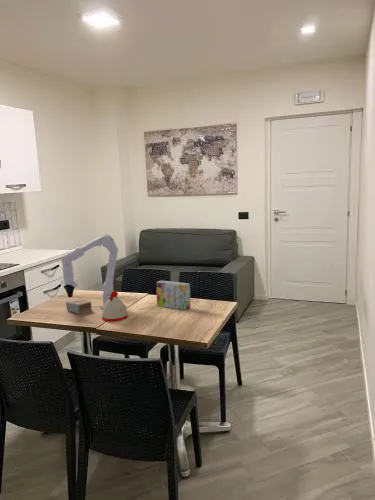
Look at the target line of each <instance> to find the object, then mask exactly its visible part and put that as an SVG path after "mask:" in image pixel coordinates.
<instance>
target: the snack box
mask: <svg viewBox="0 0 375 500" xmlns="http://www.w3.org/2000/svg"><path fill="white" fill-rule="evenodd" d="M155 285H156V306H157V307H162V308H163V307H164V308H170V309H176V310H182V311H187V310H190V309H191V284H190V283H189V282H187V283H186V282H179V281H172V280H171V281H169V280H159V281H156V282H155Z"/></svg>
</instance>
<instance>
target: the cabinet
mask: <svg viewBox="0 0 375 500" xmlns="http://www.w3.org/2000/svg"><path fill="white" fill-rule="evenodd" d="M67 302H71V303H76V304H78V305H79V312H80V313H79V315H81V314H85V313H87V312H91V311H92V302H91V301H89V300H86V299H82V298H77V299H73V300H69V301H67ZM84 312H85V313H84Z"/></svg>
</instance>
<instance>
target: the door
mask: <svg viewBox="0 0 375 500" xmlns="http://www.w3.org/2000/svg"><path fill="white" fill-rule="evenodd" d="M65 306H66V311H68V312H72V313H75V314H79V313H80V312H79V305H78V304H76V303H71V302H68V301H65ZM79 315H80V314H79Z"/></svg>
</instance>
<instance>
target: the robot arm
mask: <svg viewBox="0 0 375 500" xmlns="http://www.w3.org/2000/svg"><path fill="white" fill-rule="evenodd" d="M95 247H104V248H106V249H107V251H108V252H109V256H108V263H107V268H106V275H105V281H104V282H103V284H102V295H101V296H102V306H100V309H102V307H104V305H105V303H106V302H107V300H108V299H109V297H110V295H112V292H113V291H114V275H115V269H116V263H117V257H118V251H119V249H118V246H117V243H116V242H115V240H114V238H113V237H112V236H111V235H109V234H104V235H102V236H98V237H96V238H94V239H93V240H91V241H89V242H88V243H86V244H85V245H83V246H82V247H80V246H78V247H76V246H75V247H74V249H73V250H71V251H67V252H66V253H65V254H64V255H63V256H62V257H61V264H62V274H63V280H60V283H61V284H62V285H63V286H62V287H63V288H64V290H65V292H66V295H67V297H68V298H73V297H74V291H75V288H76V287H78V283H77V282H76V281H75V279H74V277H75V276H74V267H73V262H75V261H76V260H78V259H79V258H81V257H83V256H84V255H85V252H87V251H90V250H91V249H93V248H95ZM110 298H111V297H110ZM117 298H119V296H117Z"/></svg>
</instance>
